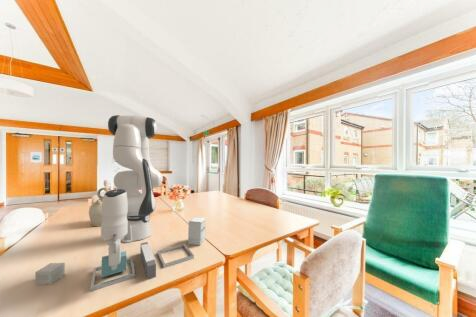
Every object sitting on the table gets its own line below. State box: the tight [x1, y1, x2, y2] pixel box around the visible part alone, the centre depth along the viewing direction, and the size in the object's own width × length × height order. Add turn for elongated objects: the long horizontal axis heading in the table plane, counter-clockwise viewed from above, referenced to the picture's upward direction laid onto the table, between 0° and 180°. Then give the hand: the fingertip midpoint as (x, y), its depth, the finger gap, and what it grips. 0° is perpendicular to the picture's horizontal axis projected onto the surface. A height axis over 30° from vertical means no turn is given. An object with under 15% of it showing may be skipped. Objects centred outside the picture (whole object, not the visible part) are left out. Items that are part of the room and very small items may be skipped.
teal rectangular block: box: [100, 250, 127, 278], centre depth 71 cm, size 8×4×6 cm, turn 125°
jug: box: [88, 187, 110, 227], centre depth 124 cm, size 15×16×25 cm
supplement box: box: [187, 216, 207, 246], centre depth 99 cm, size 7×7×13 cm
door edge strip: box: [139, 241, 157, 280], centre depth 78 cm, size 22×3×5 cm, turn 35°
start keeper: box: [156, 243, 195, 268], centre depth 85 cm, size 14×14×1 cm
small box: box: [34, 262, 66, 286], centre depth 67 cm, size 6×6×5 cm
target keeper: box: [89, 257, 136, 292], centre depth 71 cm, size 14×14×1 cm
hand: (114, 265), depth 71 cm, fingers closed on teal rectangular block, 4 cm apart
